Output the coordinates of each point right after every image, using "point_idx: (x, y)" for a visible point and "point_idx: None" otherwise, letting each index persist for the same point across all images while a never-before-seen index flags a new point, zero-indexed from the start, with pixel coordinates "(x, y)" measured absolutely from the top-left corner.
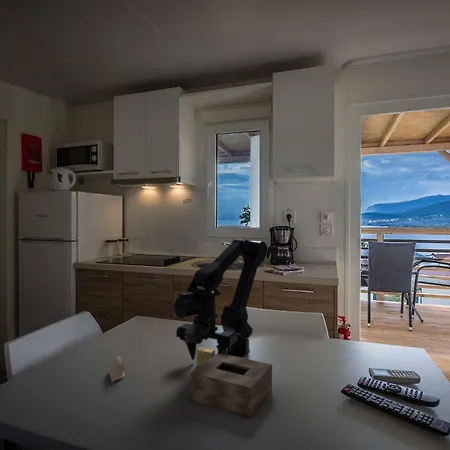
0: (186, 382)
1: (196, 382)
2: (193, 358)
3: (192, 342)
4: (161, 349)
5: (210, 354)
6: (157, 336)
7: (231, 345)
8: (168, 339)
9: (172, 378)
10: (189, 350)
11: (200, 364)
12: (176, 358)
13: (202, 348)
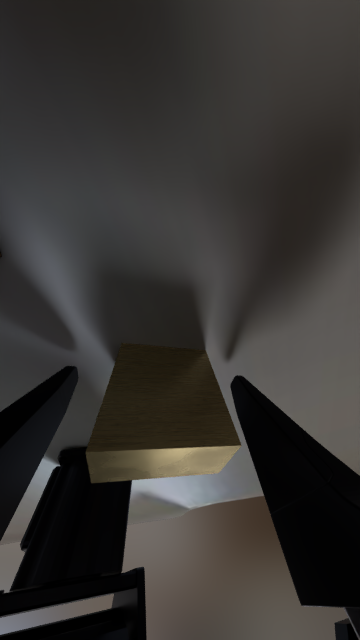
0: (200, 42)
1: None
2: (236, 383)
3: (307, 507)
4: (355, 404)
5: (99, 429)
6: (355, 445)
7: (101, 496)
8: (326, 445)
9: (337, 115)
10: (287, 421)
11: (186, 356)
12: (304, 374)
13: (200, 466)
